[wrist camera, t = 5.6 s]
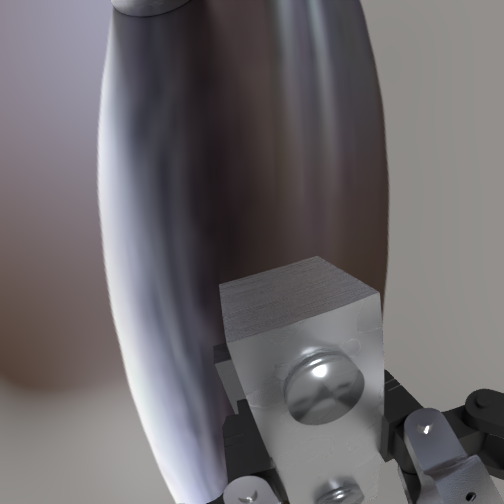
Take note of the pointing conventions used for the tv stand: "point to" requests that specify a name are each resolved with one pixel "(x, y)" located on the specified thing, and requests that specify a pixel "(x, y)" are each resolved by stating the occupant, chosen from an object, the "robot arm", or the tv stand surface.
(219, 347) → the end link
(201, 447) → the tv stand surface
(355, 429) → the bolted link plate
